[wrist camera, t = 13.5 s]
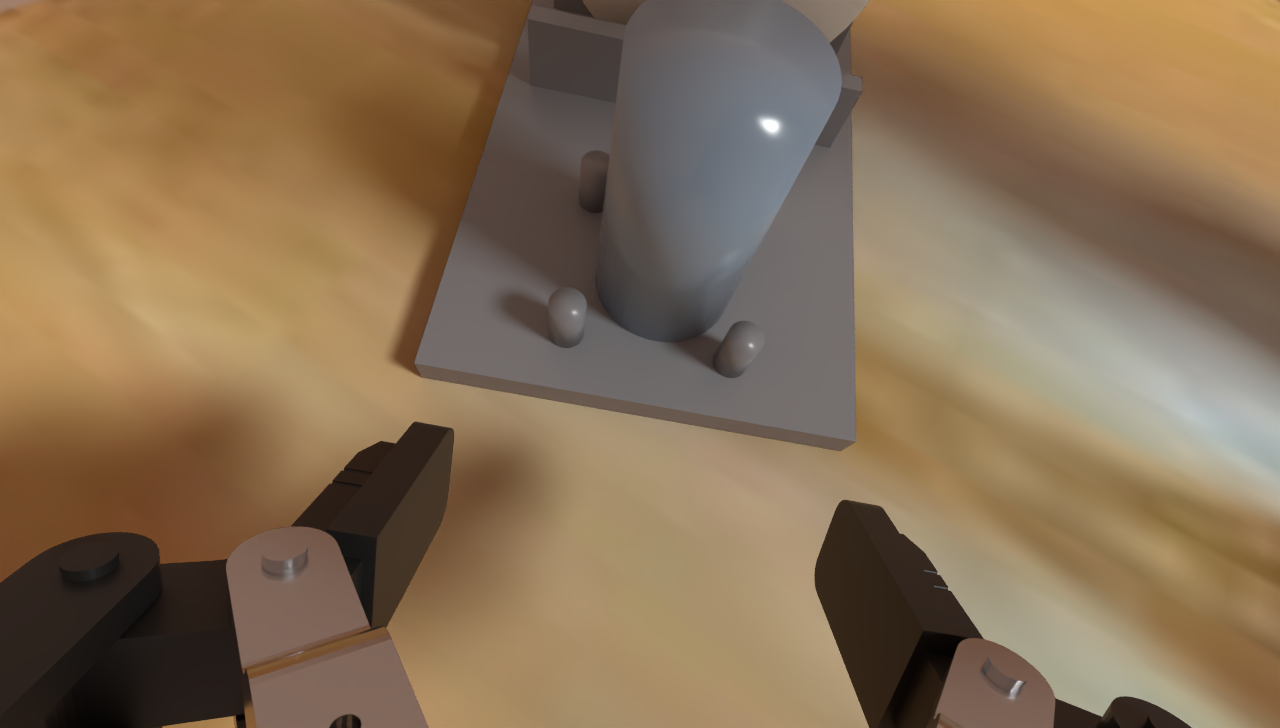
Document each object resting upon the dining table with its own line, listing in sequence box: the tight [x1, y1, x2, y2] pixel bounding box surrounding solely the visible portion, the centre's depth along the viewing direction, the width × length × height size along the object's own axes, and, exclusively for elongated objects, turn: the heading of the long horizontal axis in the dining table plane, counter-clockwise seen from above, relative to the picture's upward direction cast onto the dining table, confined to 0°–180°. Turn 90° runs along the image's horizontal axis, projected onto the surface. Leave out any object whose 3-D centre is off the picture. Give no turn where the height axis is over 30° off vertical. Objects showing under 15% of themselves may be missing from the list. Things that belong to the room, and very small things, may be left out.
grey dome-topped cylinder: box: [595, 0, 842, 342], centre depth 18 cm, size 5×5×10 cm
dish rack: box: [414, 0, 870, 451], centre depth 20 cm, size 15×24×13 cm, turn 172°
